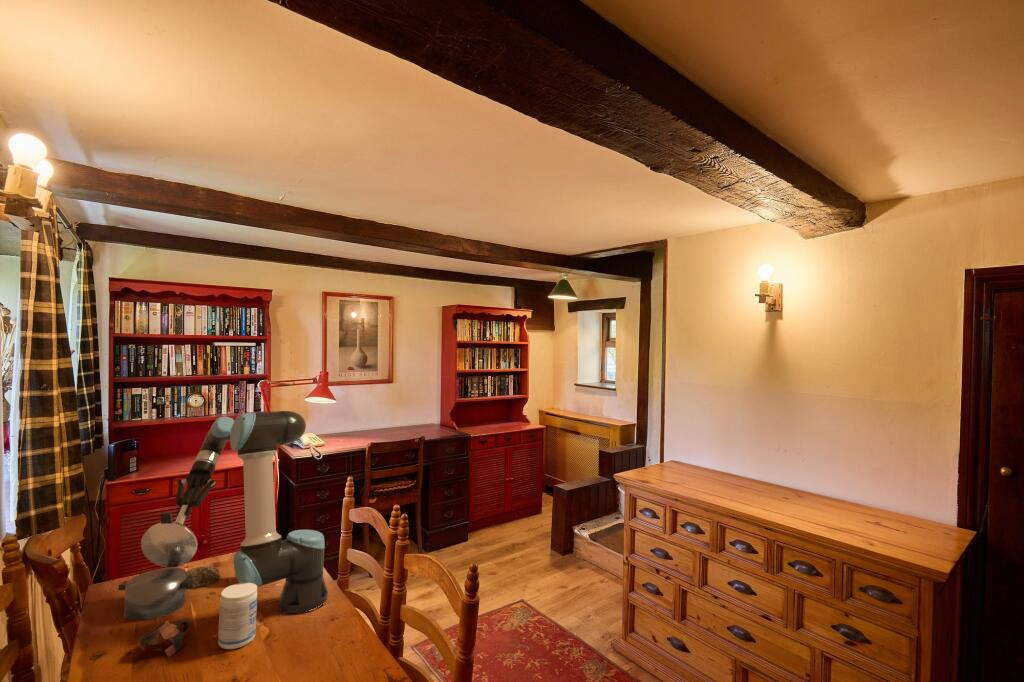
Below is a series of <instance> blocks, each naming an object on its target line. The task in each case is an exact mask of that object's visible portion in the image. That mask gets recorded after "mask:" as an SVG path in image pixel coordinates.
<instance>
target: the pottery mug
mask: <svg viewBox="0 0 1024 682" xmlns="http://www.w3.org/2000/svg"><path fill="white" fill-rule="evenodd" d="M181 625H183V628H182V630H181V631H180V628H181ZM190 628H191V621H190V620H189V619H188V618H181V619H178V621H176V622H174V623H170V622H169V620H166V621H162V623H160V624H158V625H157V626H156V627H154V628H153V631H152V632H150V631H148V632H146V633H145V634H144V635H143V636H142V637H140V638H139V640H138V642H139V643H140V646H139V649H140V650H142V651H144V652H145V650H146V647H147V645H151V646H155V645H158V641H159V639H158V638H159V636H160V635H161V637H162V639H163V640H166V641H167V640H168V641H169V642H170V643H171V644H170V645H169V647H167V648H166V649H165V650H164V653H165V654H166V657H167V658H170V657H171V656H173V655H174V654H176V652H178V651H179V650H180V649H181V648H182V647H183V638H184V637H185V635H186V634H187V633H188V632H189V630H190Z"/></svg>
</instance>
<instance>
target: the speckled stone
mask: <svg viewBox="0 0 1024 682" xmlns="http://www.w3.org/2000/svg"><path fill="white" fill-rule="evenodd" d="M186 572H187V576H186V579H194V583H193V585H192V586H190V587H189V588H188V589H190V588H191V589H192V588H193V589H196V588H199V587H204V586H205V587H210V586H212V585H214V584H215V583H217V581H219V580H221V577H222V576H221V574H220V570H219V569H218V568H217V567H216V566H214V565H211V566H210V565H209V566H197V567H195V568H193V567H192V568H191V569H187V571H186ZM191 589H190V590H191Z"/></svg>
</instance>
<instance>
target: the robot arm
mask: <svg viewBox="0 0 1024 682" xmlns="http://www.w3.org/2000/svg"><path fill="white" fill-rule="evenodd" d="M306 428H307V424H306V420H305V418H304V417H303V416H302V415H301V414H299V413H297V412H295V411H290V410H279V411H257V412H256V411H255V412H247V413H242V414H240V415H238V416H237V417H236V418H235V419H234V418H232V417H229V416H220V417H219V418H217V419H216V420H215V421H214V422H213V423H212V425H211V427H210V429H209V430H208V432H207V433H206V435H205V438H204V440H203V442H202V445H201V447H200V448H199V449H200V450H199V451H198V453H197V455H196V458H195V459H194V462H193V464H192V466H191V468H190V470H189V473H188V475H187V476H186V477H185V478H184V479H178V480H177V491H176V496H175V501H174V502H175V504H176V506H177V507H178V509H177V511H176V515H177V516H176V518H175V521H174V522H176V523H180V524H182V525H184V523H185V520H186V518H187V517H189V516H190V515H191V512H192V511H193V508H195V507H200V505H201V504H202V503H203V501H204V499H205V498H206V497H207V496H208V494H209V493H210V491H211V489H213V488H214V487H215V486H216V485H217V483H216V481H215V480H214V479H212V476H213V475H214V472H215V469H216V468H217V464H218V462H219V460H220V457H221V455H222V453H223V450H224V448H225V446H226V445H227V443H228V442H229V444H230V448H231V450H232V451H234V452H237V457H238V458H239V459H241V460H242V462H243V463H242V465H243V469H242V470H243V490H244V491H243V493H244V494H243V495H244V516H245V517H244V522H245V523H244V524H245V525H244V527H245V538H244V539H243V541H242V542H241V543H240V550H238V551H237V552H235V553H234V556H233V570H234V573H235V577H236V579H237V582H238V583H254V584H255V585H256V586H257V588H261V587H262V586H265V585H269V584H271V583H275V582H279V581H281V580H284V579H285V582H284V585H283V587H282V590H281V592H280V596H279V599H278V609H279V610H280V612H282V613H285V614H286V613H287V614H290V613H300V614H303V613H302V612H306V611H309V610H311V609H314V608H316V607H318V606H320V605H321V604H323V603H324V602H325V601H326V600H327V601H328V599H327V597H329V593H328V587H327V584H326V581H325V578H324V563H325V559H324V558H325V548H326V546H325V536H324V534H323V533H322V532H320V531H318V530H313V529H297V530H296V529H295V530H292V531H290V532H289V533H288V534H287V536H286V539H284V540H283V539H282V535H281V534H279V533H278V531H277V530H276V529H277V526H276V525H277V524H276V506H275V502H276V501H275V482H274V461H273V458H274V456H275V454H276V453H277V452H278V446H284V445H288V444H292V443H295V442H297V441H298V440H299V439H300V438H302V437H303V435H304V434H305V432H306ZM186 484H187V486H186ZM185 487H186V490H185ZM327 601H326V602H327ZM306 613H307V612H306Z"/></svg>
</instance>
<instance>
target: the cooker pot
mask: <svg viewBox="0 0 1024 682" xmlns="http://www.w3.org/2000/svg"><path fill="white" fill-rule="evenodd" d="M186 576H187V571H186V569H184V568H180V567H164V568H163V567H162V568H159V569H152V570H149V571H146V572H144V573H140V574H138V575H136V576H134V577H132V578H131V579H129V580H123V582H121V583H120V584H119V585H118V587H117V588H118V589H117V590H118V591H124V606H123V607H124V610H123V616H124V615H125V616H124V618H125V617H126V618H125V619H126V620H129V619H130V621H134V620H136V621H137V620H142V621H149V620H148V619H150V620H155V619H158V618H161V617H165V616H167V615H169V614H172V613H174V612H176V611H177V610H179V609H180V608H182V607H183V606H184V604H185V602H186V597H187V595H186V593H187V589H190V588H189V587H190V586H192V585H193V583H194V579H186ZM154 618H155V619H154ZM136 621H135V622H136ZM137 622H138V621H137Z"/></svg>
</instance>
